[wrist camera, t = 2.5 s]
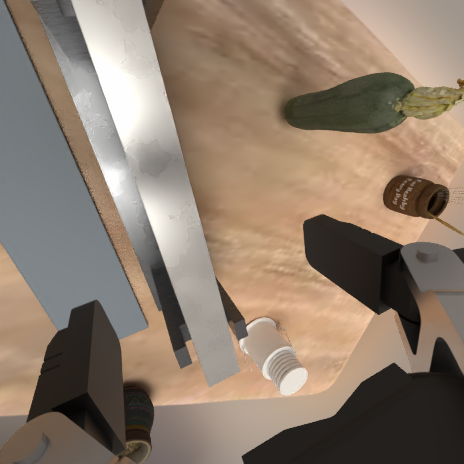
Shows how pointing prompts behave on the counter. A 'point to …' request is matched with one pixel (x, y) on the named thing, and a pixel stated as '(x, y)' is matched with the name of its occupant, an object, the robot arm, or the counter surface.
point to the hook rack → (120, 164)
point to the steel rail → (158, 169)
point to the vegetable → (370, 104)
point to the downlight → (273, 355)
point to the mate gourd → (137, 424)
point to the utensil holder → (417, 198)
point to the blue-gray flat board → (52, 203)
